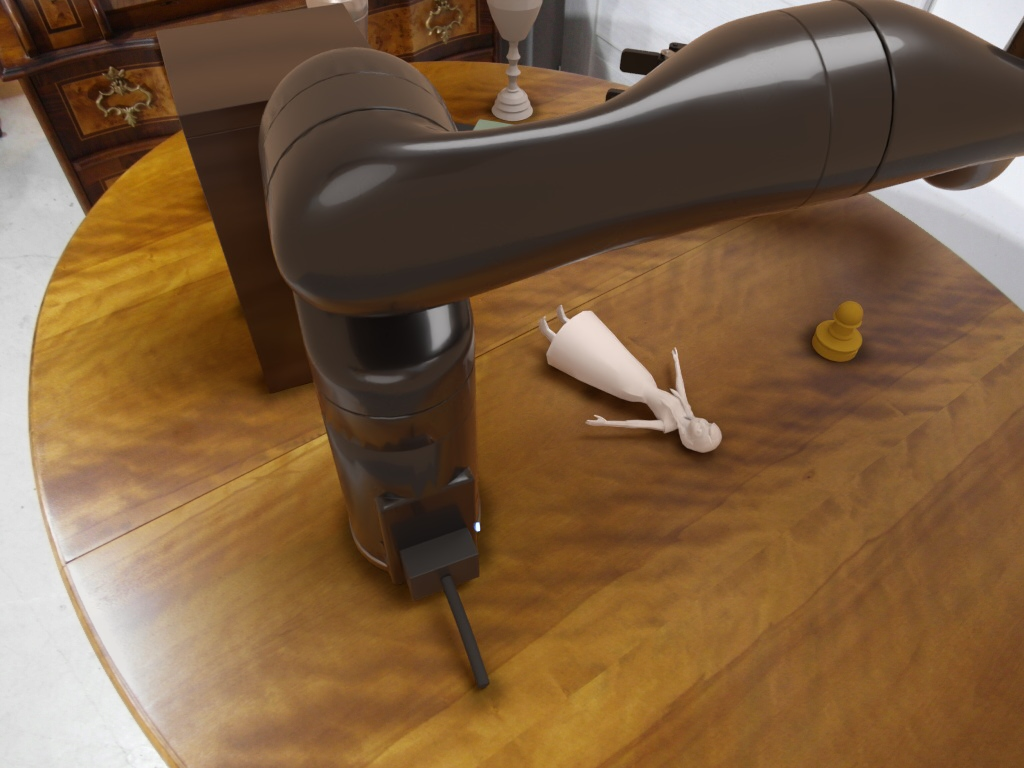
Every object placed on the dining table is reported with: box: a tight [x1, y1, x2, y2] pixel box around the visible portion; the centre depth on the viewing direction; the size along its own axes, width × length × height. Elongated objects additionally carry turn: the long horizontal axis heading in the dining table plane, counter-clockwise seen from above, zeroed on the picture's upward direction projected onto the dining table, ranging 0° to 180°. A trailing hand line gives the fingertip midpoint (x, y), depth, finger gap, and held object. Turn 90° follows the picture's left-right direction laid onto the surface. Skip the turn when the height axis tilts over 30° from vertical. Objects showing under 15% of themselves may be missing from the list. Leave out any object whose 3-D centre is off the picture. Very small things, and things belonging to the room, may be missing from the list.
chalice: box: [486, 0, 544, 122], centre depth 88 cm, size 7×7×18 cm
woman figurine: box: [538, 304, 723, 454], centre depth 64 cm, size 12×4×18 cm
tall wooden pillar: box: [155, 3, 373, 394], centre depth 60 cm, size 12×13×25 cm
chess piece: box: [811, 300, 864, 363], centre depth 67 cm, size 4×4×5 cm
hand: (613, 79), depth 76 cm, fingers open, 8 cm apart
